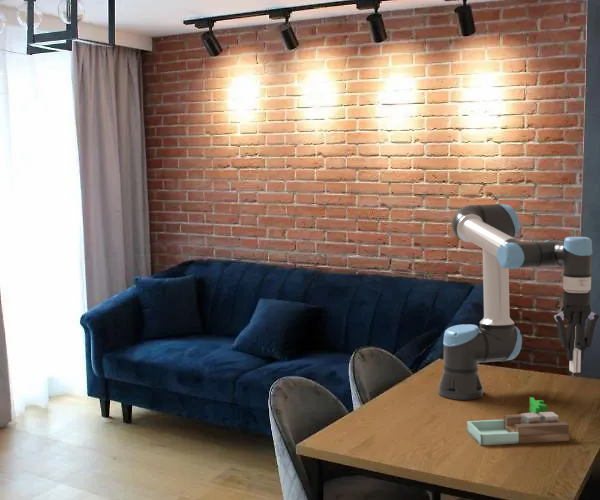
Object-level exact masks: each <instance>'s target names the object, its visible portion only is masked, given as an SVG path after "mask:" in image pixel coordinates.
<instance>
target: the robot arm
mask: <svg viewBox="0 0 600 500" xmlns="http://www.w3.org/2000/svg"><path fill="white" fill-rule="evenodd" d="M450 222H451V223H450V225H451V230H452V233H453V235H455V237H457V238H458V239H460V240H461V241H463V242H466V243H472V244H474V245H476V246H477V247H480V248H481V249H482V278H483V281H482V282H483V318H482V319H481V320H480V321H479V326H478V325H476V324H464V323H463V324H457V325H452V326H450V327H448V328H447V329H445V331H444V334H443V340H442V343H443V372H442V375H441V378H440V380H439V383H438V387H437V390H438V392H437V393H438V395H440V396H441V397H444V398H447V399H450V400H460V401H461V400H462V401H464V400H465V401H467V400H476V399H479V398H482V397H483V396H484V387H483V383H482V381H481V380H482V379H481V378H480V375H479V363H490V362H491V363H492V362H505V361H510V360H511V361H512V360H514V359H515V358H517V356H518V355H519V354H520V352H521V349H522V344H523V339H522V338H523V337H522V334H521V331H520V329H519V328H518V327H517V326H515V322H514V321H513V319H512V318H511V317H510V314H511V313H510V275H509V273H510V272H509V271H510V269H511V270H517V269H529V268H530V269H532V268H551V267H552V268H553V267H555V268H556V267H558V268H563V274H562V275H563V277H562V281H563V282H562V289H563V290H564V291H563V292H562V307H561V311H560V312H559V313H557V314H553V315H552V317H553V319H554V321H555V322H556V323H555V324H556V328H557V333H558V339H559V344H560V345H559V346H561V347H563V348H564V349H566V360H567V361H569V370H568V371H569V372H571V373H573V374H574V373H581V364H582V363H581V361H584V351H586V350H587V349H588V348H590V347H591V345H592V341H593V338H594V337H593V336H594V333H595V328H596V324H597V321H598V319H599V318H600V315H599V314H597V313H594V312H593V311H592V308H591V303H592V302H591V299H592V298H591V295H592V294H591V292H590V291H591V288H592V268H593V267H592V266H593V265H592V264H593V263H592V262H593V247H592V246H593V243H592V241H593V240H592V239H591V238H589V237H587V236H567V237H565V238H564V241H559V240H557V239H547V240H544V241H531V242H530V241H529V242H528V241H525V242H523V241H520V240H518V239H517V238H516V237H517V236H518V235H519V231H520V227H521V226H520V219H519V215H518V213H517V211H516V210H515V209H514V208H513V207H512V206H511V205H509V204H502V203H501V204H500V203H497V204H496V203H495V204H471V205H470V204H469V205H464V206H462V207H461V208H459V209H458V210H457V211H456V212H455V213H454V215H453V217H452V219H451V221H450ZM587 319H588V320H587ZM564 320H566V327H567V329H566V328H565V322H564ZM586 320H587V322H586ZM575 335H576V347H575ZM586 348H587V349H586Z"/></svg>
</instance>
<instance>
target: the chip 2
mask: <svg viewBox="0 0 600 500" xmlns="http://www.w3.org/2000/svg"><path fill="white" fill-rule="evenodd" d="M539 416H541V423H554V422H559V415H558V414H556V413H555V412H553V411H547V412H539Z"/></svg>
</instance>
